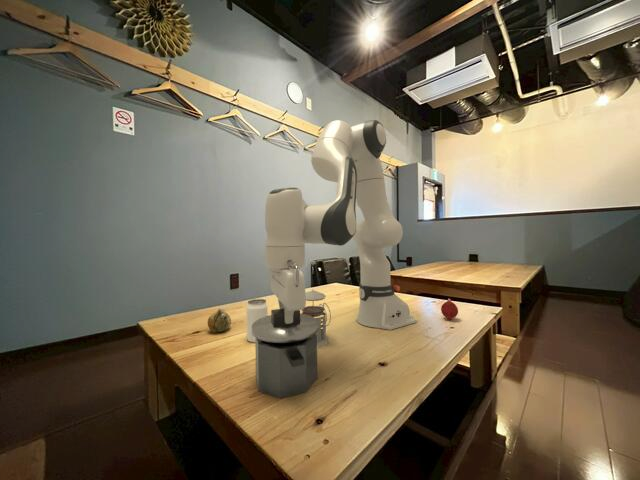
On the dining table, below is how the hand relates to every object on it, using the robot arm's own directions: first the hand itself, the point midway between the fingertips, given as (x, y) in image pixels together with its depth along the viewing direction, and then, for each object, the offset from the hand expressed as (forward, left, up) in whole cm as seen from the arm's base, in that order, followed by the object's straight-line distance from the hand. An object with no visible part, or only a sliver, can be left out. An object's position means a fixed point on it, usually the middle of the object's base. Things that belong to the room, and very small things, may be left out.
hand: (286, 319), depth 57 cm
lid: (0, 0, -2) cm, 2 cm away
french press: (-13, -17, -14) cm, 25 cm away
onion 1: (+15, -37, -14) cm, 42 cm away
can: (+4, -25, -14) cm, 29 cm away
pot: (0, 0, -14) cm, 14 cm away
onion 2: (-67, -16, -14) cm, 70 cm away
